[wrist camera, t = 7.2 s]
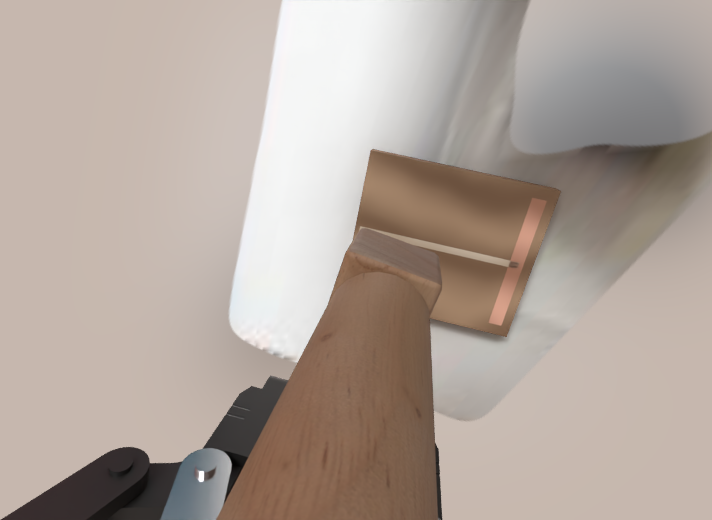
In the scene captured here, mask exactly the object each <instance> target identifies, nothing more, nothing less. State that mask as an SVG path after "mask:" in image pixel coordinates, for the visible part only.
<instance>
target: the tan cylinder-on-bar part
mask: <svg viewBox="0 0 712 520" xmlns="http://www.w3.org/2000/svg"><path fill="white" fill-rule="evenodd" d="M441 291H442V277H441V269H440V262H439V256H438V255H437V254H435V253H434V252H431V251H428V250H426V249H423V248H420V247H417V246H415V245H412V244H409V243H406V242H404V241H401V240H398V239H396V238H393V237H390V236H387V235H385V234H382V233H379V232H376V231H374V230H371V229H368V228H361V229H360V231H359V232H358V233H357V235H356V236H355V238H354V240H353V241H352V243H351V245H350V246H349V248H348V250H347V251H346V253H345V256H344V259H343V262H342V265H341V268H340V271H339V273H338V276H337V279H336V282H335V285H334V288H333V291H332V294H331V297H330V300H329V303H328V306H327V308H326V310H325V311H324V313H323V315H322V317H321V319H320V321H319V323H318V325H317V327H316V329H315V331H314V333H313V334H312V336H311V338H310V340H309V342H308V344H307V346H306V348H305V350H304V352H303V354H302V356H301V358H300V359H299V361H298V363H297V365H296V367H295V369H294V371H293V373H292V375H291V377H290V379H289V381H288V382H287V384H286V386H285V388H284V390H283V392H282V394H281V396H280V398H279V400H278V402H277V404H276V405H275V407H274V409H273V411H272V413H271V415H270V417H269V419H268V421H267V423H266V425H265V427H264V428H263V430H262V432H261V434H260V436H259V438H258V440H257V442H256V444H255V446H254V448H253V450H252V451H251V453H250V455H249V457H248V459H247V461H246V463H245V465H244V467H243V469H242V471H241V473H240V474H239V476H238V478H237V480H236V482H235V484H234V486H233V488H232V490H231V492H230V494H229V496H228V497H227V499H226V501H225V503H224V505H223V507H222V509H221V511H220V513H219V515H218V517H217V519H216V520H438V506H437V482H436V457H435V433H434V409H433V384H432V360H431V335H430V319H429V317H430V315H431V313H432V311H433V309H434V306H435V304H436V302H437V300H438V297H439V295H440V293H441Z"/></svg>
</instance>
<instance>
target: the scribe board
mask: <svg viewBox="0 0 712 520" xmlns="http://www.w3.org/2000/svg"><path fill="white" fill-rule="evenodd" d="M560 193H561V191H559V190H558V189H556V188H551V187H547V186H542V185H537V184H533V183H528V182H523V181H519V180H514V179H509V178H505V177H500V176H495V175H491V174H486V173H482V172H477V171H472V170H468V169H463V168H458V167H454V166H449V165H444V164H440V163H435V162H430V161H426V160H421V159H416V158H412V157H407V156H402V155H398V154H393V153H388V152H384V151H379V150H375V149H372V150H371V152H370V157H369V162H368V167H367V172H366V177H365V182H364V187H363V192H362V197H361V202H360V207H359V212H358V217H357V222H356V227H355V232H354V237H353V240H354V238H355V236H356V235H357V233H358V232H359V231H360V229H361V228H368V229H371V230H374V231H376V232H379V233H382V234H385V235H387V236H390V237H393V238H396V239H398V240H401V241H404V242H406V243H409V244H412V245H415V246H417V247H420V248H423V249H426V250H428V251H431V252H434V253H435V254H437V255H438V256H439V262H440V269H441V277H442V291H441V293H440V295H439V297H438V300H437V302H436V304H435V306H434V309H433V311H432V313H431V315H430V317H429V318H431V319H435V320H439V321H443V322H447V323H452V324H456V325H460V326H464V327H468V328H472V329H476V330H480V331H484V332H488V333H492V334H496V335H501V336H505V337H507V334H508V331H509V329H510V326H511V323H512V321H513V318H514V315H515V313H516V310H517V307H518V305H519V302H520V299H521V297H522V294H523V291H524V289H525V286H526V283H527V281H528V278H529V275H530V273H531V270H532V267H533V265H534V262H535V259H536V257H537V254H538V251H539V249H540V246H541V243H542V241H543V238H544V235H545V233H546V230H547V227H548V225H549V222H550V219H551V217H552V214H553V211H554V209H555V206H556V203H557V201H558V198H559V195H560Z"/></svg>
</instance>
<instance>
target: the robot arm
mask: <svg viewBox="0 0 712 520" xmlns="http://www.w3.org/2000/svg"><path fill="white" fill-rule="evenodd" d="M288 381H289V380H285V379H281V378H277V377H274V376H270V377H269V378H268V380H267V382H266V384H265V385H264V387H263V388H262V389H260V388H257V387H253V386H251V387H250V388H248V389H246V390H245V391H243V392H242V393H240V394H239V396H238V397H237V399H236V400H235V402H234V403H233V405H232V407H231V408H230V409H229V411H228V412H227V414H226V415H225V416H224V418H223V420H222V421H221V422H220V424H219V425H218V427H217V428H216V430H215V431H214V433H213V434H212V436H211V437H210V439H209V440H208V442H207V443H206V445H205V446H204V448H203V449H200V450H197V451H195V452H193V453H191V454H189V455H188V456H187V457H186V458H185V459H184V460H183V461H182V462H178V463H150V462H149V457H148V455H147V454H146V453H145V452H144V451H142V450H141V449H138V448H134V447H123V448H118V449H115V450H112V451H110V452H108V453H106V454H104V455H103V456H101V457H99V458H98V459H96V460H95V461H93V462H92V463H90V464H88V465H87V466H85V467H84V468H82V469H81V470H79V471H77V472H76V473H74V474H73V475H71V476H69V477H68V478H66V479H65V480H63V481H62V482H60V483H58V484H57V485H55V486H54V487H52V488H50V489H49V490H47V491H46V492H44V493H42V494H41V495H39V496H38V497H36V498H35V499H33V500H31V501H30V502H28V503H27V504H25V505H23V506H22V507H20V508H19V509H17V510H15V511H14V512H12V513H11V514H9V515H8V516H6V517H5V518H3V519H1V520H216V519H217V517H218V515H219V513H220V511H221V509H222V507H223V505H224V503H225V501H226V499H227V497H228V496H229V494H230V492H231V490H232V488H233V486H234V484H235V482H236V480H237V478H238V476H239V474H240V473H241V471H242V469H243V467H244V465H245V463H246V461H247V459H248V457H249V455H250V453H251V451H252V450H253V448H254V446H255V444H256V442H257V440H258V438H259V436H260V434H261V432H262V430H263V428H264V427H265V425H266V423H267V421H268V419H269V417H270V415H271V413H272V411H273V409H274V407H275V405H276V404H277V402H278V400H279V398H280V396H281V394H282V392H283V390H284V388H285V386H286V384H287V382H288ZM435 457H436V482H437V506H438V520H442V508H441V490H440V476H439V474H440V470H439V451H438V448H437V446H436V444H435Z"/></svg>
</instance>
